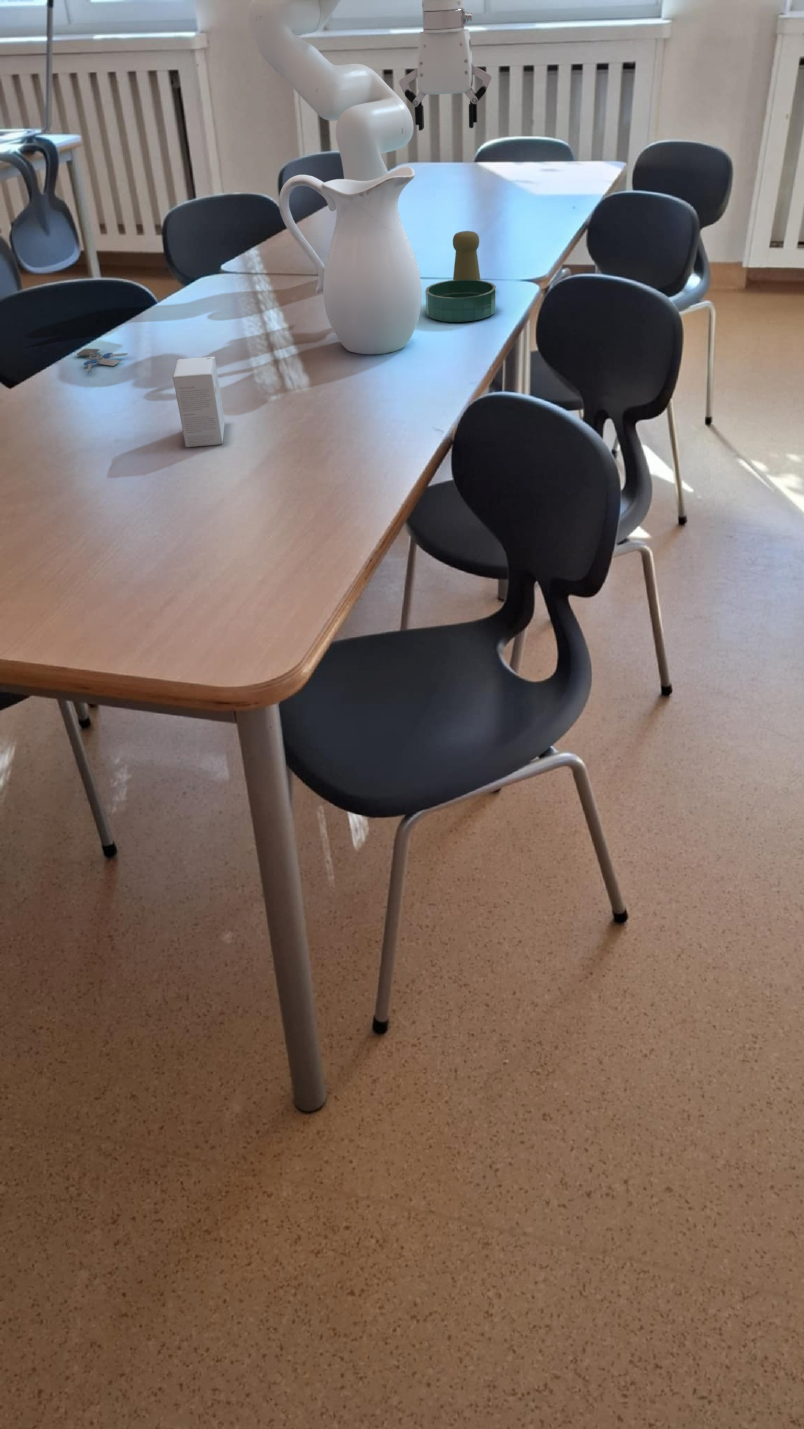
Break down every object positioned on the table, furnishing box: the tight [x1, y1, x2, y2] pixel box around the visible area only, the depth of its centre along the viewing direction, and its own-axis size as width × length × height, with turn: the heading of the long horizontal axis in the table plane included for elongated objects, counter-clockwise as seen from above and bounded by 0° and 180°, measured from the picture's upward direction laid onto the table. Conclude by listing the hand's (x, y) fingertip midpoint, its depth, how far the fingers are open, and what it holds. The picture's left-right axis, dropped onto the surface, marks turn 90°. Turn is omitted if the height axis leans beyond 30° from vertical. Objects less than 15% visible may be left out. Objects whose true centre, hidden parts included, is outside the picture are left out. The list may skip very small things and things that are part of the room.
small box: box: [172, 356, 226, 448], centre depth 155 cm, size 8×6×10 cm
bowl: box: [424, 279, 497, 323], centre depth 201 cm, size 13×13×4 cm
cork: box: [452, 230, 481, 280], centre depth 209 cm, size 6×6×11 cm
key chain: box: [76, 348, 128, 373], centre depth 190 cm, size 14×8×1 cm, turn 23°
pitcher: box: [278, 165, 423, 355], centre depth 182 cm, size 24×17×28 cm
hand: (446, 128), depth 203 cm, fingers open, 9 cm apart
